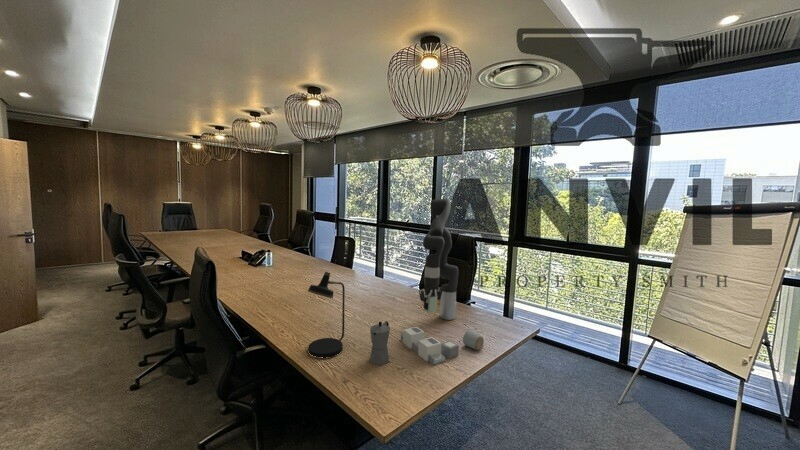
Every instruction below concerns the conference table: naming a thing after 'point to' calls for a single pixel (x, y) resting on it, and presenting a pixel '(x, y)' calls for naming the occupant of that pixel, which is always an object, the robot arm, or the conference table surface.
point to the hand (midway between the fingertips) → (430, 308)
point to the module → (432, 304)
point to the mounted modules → (421, 342)
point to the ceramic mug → (473, 340)
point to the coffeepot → (379, 343)
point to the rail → (431, 359)
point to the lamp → (335, 346)
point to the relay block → (449, 349)
